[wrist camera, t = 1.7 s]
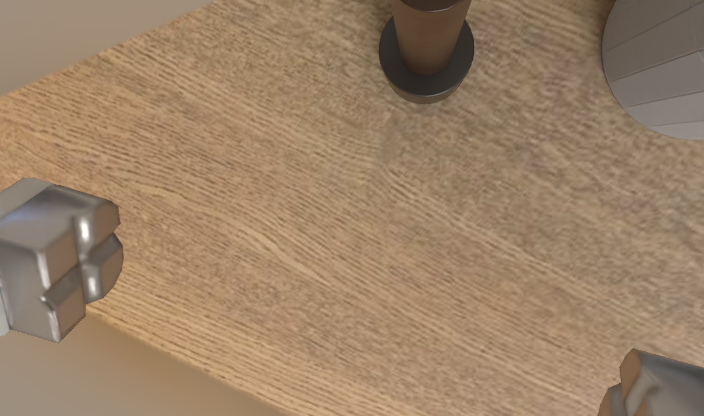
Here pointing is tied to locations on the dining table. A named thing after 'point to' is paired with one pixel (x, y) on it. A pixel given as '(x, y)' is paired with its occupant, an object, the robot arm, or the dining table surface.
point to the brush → (426, 48)
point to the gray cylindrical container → (658, 63)
